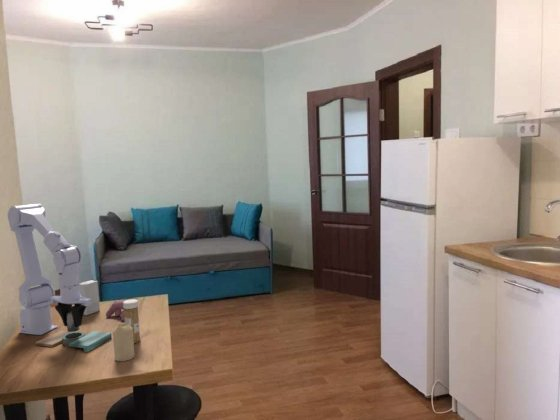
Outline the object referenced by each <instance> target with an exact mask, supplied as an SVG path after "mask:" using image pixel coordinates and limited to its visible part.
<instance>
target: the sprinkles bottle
mask: <svg viewBox="0 0 560 420" xmlns="http://www.w3.org/2000/svg"><path fill="white" fill-rule="evenodd" d="M123 301H124V302H123V308H124V316H125V317H124V319H125V320H124V323H125V324H128V325H130V326H131V327H132V328H133V341H134V344H137V343H139V342H140V341H141V335H140V334H141V333H140V319H139V318H140V317H139V300H138V299H134V298H133V299H126V300H123Z"/></svg>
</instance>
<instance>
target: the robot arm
mask: <svg viewBox="0 0 560 420" xmlns="http://www.w3.org/2000/svg"><path fill="white" fill-rule="evenodd" d="M7 220H8V224H9V228H10V231H11V232H14V234H15V238H16V242H17V248H18V251H19V256H20V260H21V264H22V269H23V274H24V277H25V280H24V281H23V282H22V283H21V284H20V285H19V287H18V292H19V293H18V294H19V295H18V297H19V298H18V300H19V303H20V305H21V306H22V307H21V309H20V311H19V320H20V330H19V331H18V332H19V334H28V335H35V336H42V335H44V334H46V333H48V332H50V331H52V330H55V329H57V328H58V325H54V324H52V314H51V312H52V311H51V305H52V304H57V305H55V306H54V309H55V310H56V312H57V313H58V314H59V316H60V318H61V320H62V323H63V326H64V327H67V318H66V312H68V311H71V312H72V315H73V320H74V326H75V327H79V328H80V327H81V325H82V321H83V317H84V315H83V314H84V311H85V309H86V307H87V306H89V305H91V299H89V298H85V297H82V296H81V295H80V288H79V283H80V276H79V266H78V265H79V263H80V262H81V259H82V254H81V251H80V249H79V248H78V246H76V245H73V244H70V243H69V242H68V241H67V239H66V238H65V237H64V236H63V235H62V233H61V232H59V231H55V230H54V228H53V227H52V226H51V224H50V222H49V221H48V219H47V217H46V209H45V207H44V206H43V205H42V204H41V203H40V202H39V203H38V202H37V203H33V204H31V203H30V204H23V205H22V204H21V205H20V204H19V205H11V206H10V207H9V209H8V212H7ZM34 230H36V231H37V232H38V233H39V234H40V235H41V236H42V237H43V238H44V239H43V244H44V245H45V247H46V248H47V250H49V252H50V253H51V255H52V256H53V257H52V259H53V260H52V261H53V264H54V265H55V271H56V272H57V273H58V281H59V284H58V285H59V292H60V293H59V294H60V295H56V291H55V288H54V286H53V285H52V282H51V280H50V279H49V278H47V277H44V276H43V275H42V273H43V272H42V270H41V266H40V261H39V257H38V252H37V249H36V244H35V239H34V235H33V231H34ZM35 286H36V287H35Z"/></svg>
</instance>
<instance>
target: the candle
mask: <svg viewBox="0 0 560 420" xmlns="http://www.w3.org/2000/svg"><path fill="white" fill-rule="evenodd" d="M112 335H113V336H112V338H113V351H114V352H113V353H114V360H115V361H118V362H126V361H129V360H132V359H134V357H135V345H134V344H135V343H134V341H133V328H132V327H131V326H130V325H128V324H125V322H124V323H122V324H121V323H120V324H119V323H118V325H116V327H115V328H114V329H113V330H112Z"/></svg>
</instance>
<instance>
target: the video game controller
mask: <svg viewBox="0 0 560 420" xmlns="http://www.w3.org/2000/svg"><path fill="white" fill-rule="evenodd" d="M124 301H125V300H119V301H116V300H115V301H114V302H113V303H112V304H111V306H110V307H109V308H108V309H107V311H106V313H105V317H106V318H110V317H112V316H113V314H115V316H116V317H120V316H121V317H120V320H121V322H125V319H124V317H125V316H124V308H123V302H124Z"/></svg>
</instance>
